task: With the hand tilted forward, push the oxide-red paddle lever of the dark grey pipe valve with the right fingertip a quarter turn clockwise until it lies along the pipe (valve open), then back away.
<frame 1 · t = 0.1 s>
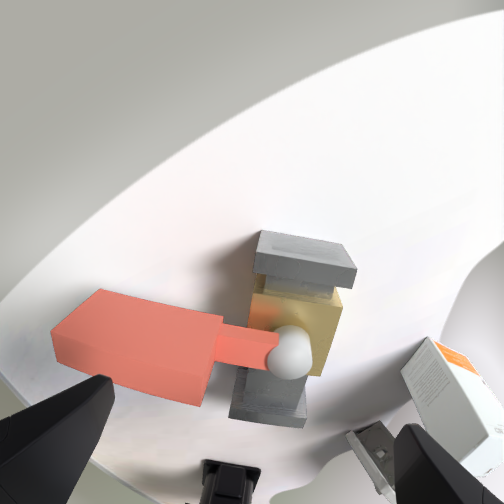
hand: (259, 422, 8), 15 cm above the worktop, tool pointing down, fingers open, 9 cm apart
electrical switch: (380, 438, 27), on the worktop
lever: (186, 352, 16), point 8 cm above the worktop, hinge at 0.0°
skincare box: (433, 361, 24), on the worktop
valve body: (288, 302, 23), on the worktop
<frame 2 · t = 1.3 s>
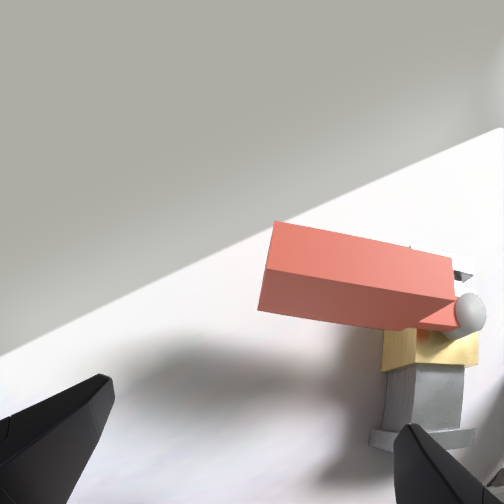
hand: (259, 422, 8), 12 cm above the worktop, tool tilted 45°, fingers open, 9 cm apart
electrical switch: (501, 497, 14), on the worktop
lever: (400, 295, 14), point 8 cm above the worktop, hinge at 0.0°
valve body: (413, 339, 21), on the worktop
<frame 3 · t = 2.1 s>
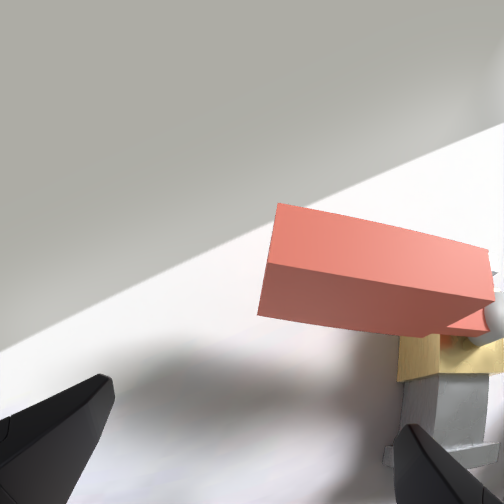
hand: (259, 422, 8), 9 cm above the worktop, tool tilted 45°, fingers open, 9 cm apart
lever: (427, 296, 11), point 8 cm above the worktop, hinge at 0.0°
valve body: (431, 345, 18), on the worktop
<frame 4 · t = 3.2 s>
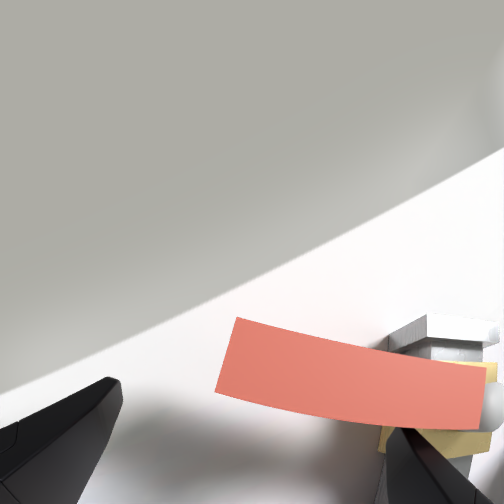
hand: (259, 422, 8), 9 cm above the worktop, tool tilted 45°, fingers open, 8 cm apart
lever: (409, 400, 9), point 8 cm above the worktop, hinge at 4.5°, touching gripper
valve body: (418, 411, 16), on the worktop
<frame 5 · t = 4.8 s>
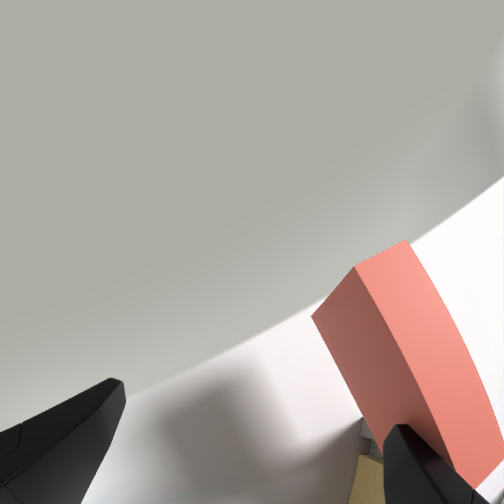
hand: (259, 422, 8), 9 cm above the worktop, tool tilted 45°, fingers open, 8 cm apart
lever: (430, 439, 8), point 8 cm above the worktop, hinge at 54.5°, touching gripper
valve body: (389, 491, 13), on the worktop
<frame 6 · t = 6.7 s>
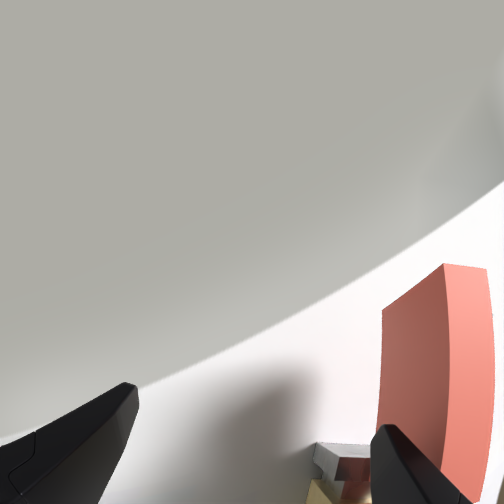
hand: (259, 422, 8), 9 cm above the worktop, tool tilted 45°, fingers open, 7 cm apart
lever: (423, 459, 8), point 8 cm above the worktop, hinge at 85.6°, touching gripper
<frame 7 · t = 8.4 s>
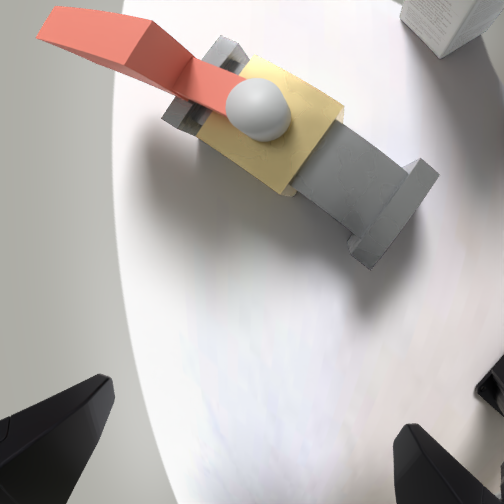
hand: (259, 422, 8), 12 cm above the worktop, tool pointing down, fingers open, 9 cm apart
lever: (150, 58, 12), point 8 cm above the worktop, hinge at 85.6°
skincare box: (442, 25, 14), on the worktop
valve body: (283, 138, 18), on the worktop
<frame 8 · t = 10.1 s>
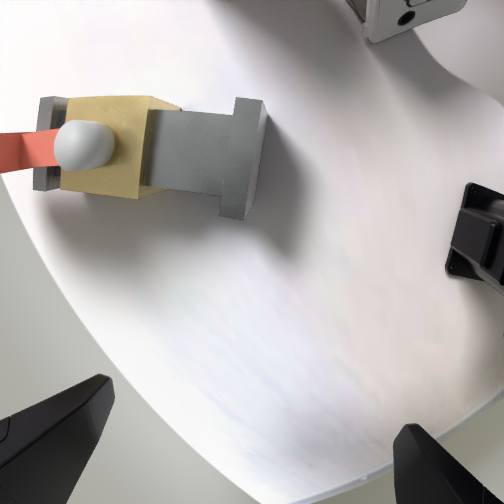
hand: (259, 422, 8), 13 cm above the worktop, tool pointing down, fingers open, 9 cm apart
valve body: (138, 144, 19), on the worktop
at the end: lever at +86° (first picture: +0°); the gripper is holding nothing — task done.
